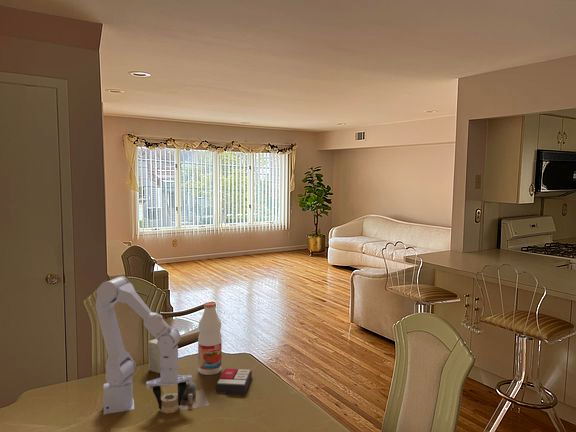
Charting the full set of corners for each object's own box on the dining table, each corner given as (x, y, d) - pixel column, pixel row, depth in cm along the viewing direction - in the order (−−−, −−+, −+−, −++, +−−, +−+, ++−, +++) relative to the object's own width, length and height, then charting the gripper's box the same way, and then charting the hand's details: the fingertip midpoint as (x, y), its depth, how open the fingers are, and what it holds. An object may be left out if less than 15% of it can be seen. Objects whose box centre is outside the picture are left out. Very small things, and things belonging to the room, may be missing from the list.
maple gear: (161, 414, 141) (161, 402, 141) (160, 406, 146) (160, 395, 146) (179, 411, 143) (178, 399, 143) (176, 403, 148) (176, 392, 148)
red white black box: (251, 368, 172) (245, 383, 157) (251, 379, 172) (245, 395, 157) (224, 367, 172) (215, 382, 157) (224, 378, 172) (215, 393, 157)
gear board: (161, 415, 141) (160, 399, 141) (157, 397, 153) (157, 382, 153) (209, 407, 147) (209, 391, 147) (202, 390, 159) (202, 375, 159)
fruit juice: (213, 364, 183) (213, 299, 182) (226, 371, 177) (226, 303, 175) (193, 370, 177) (193, 303, 175) (206, 377, 170) (206, 307, 168)
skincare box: (167, 370, 177) (166, 341, 176) (158, 373, 173) (158, 344, 173) (156, 366, 180) (156, 338, 180) (147, 370, 177) (147, 341, 176)
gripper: (147, 374, 137) (147, 415, 138) (193, 368, 143) (193, 407, 144) (145, 365, 144) (146, 405, 145) (189, 360, 149) (190, 398, 150)
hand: (169, 406), depth 145 cm, fingers closed on maple gear, 5 cm apart
